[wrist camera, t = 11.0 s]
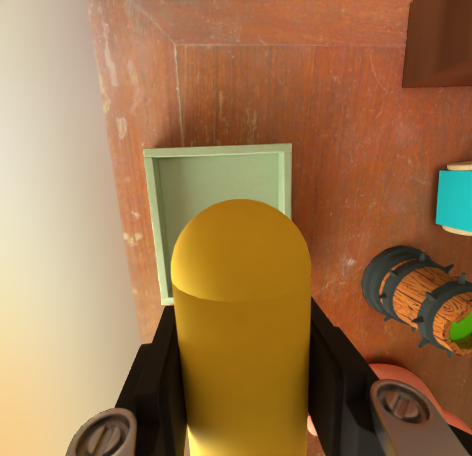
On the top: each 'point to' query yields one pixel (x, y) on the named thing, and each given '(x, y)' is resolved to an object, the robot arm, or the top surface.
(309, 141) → the top surface
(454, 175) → the toy train
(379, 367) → the teapot
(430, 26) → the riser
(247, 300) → the yellow capsule toy
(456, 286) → the mug
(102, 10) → the top surface
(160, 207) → the tray
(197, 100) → the top surface
